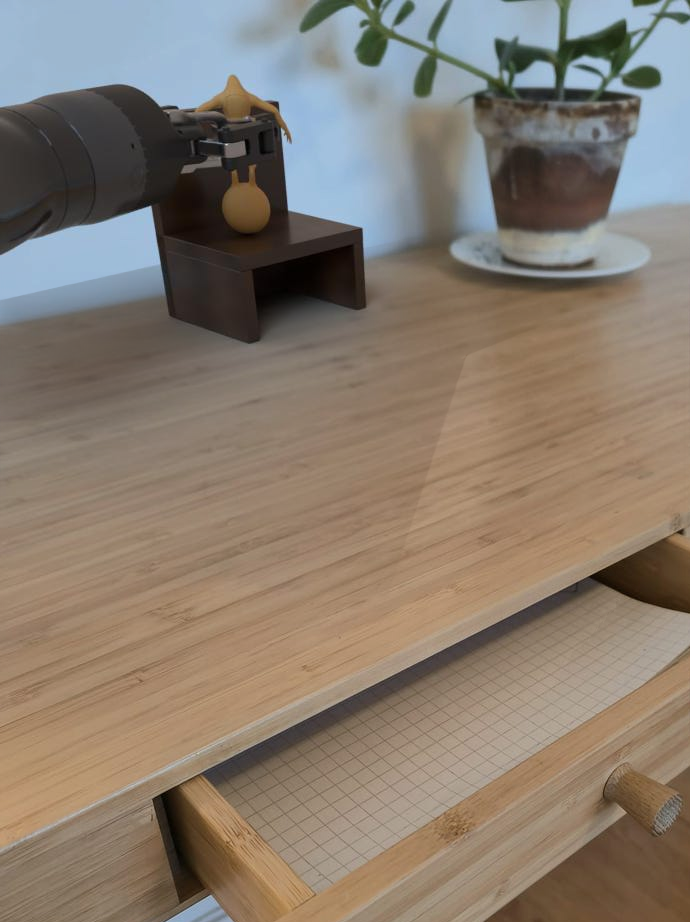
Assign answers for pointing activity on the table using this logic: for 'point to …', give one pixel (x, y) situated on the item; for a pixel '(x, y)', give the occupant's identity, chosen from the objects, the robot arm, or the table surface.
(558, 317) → the table surface
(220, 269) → the wooden miniature chair
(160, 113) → the robot arm
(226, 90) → the figurine
